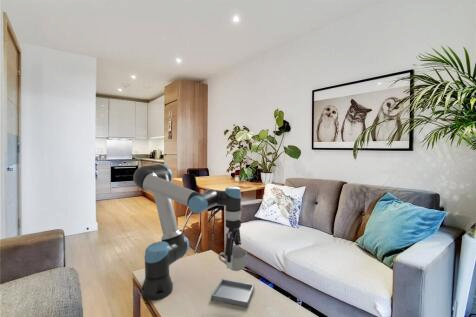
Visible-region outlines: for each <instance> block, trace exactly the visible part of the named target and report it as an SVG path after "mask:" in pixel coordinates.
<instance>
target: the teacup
mask: <svg viewBox="0 0 476 317" xmlns="http://www.w3.org/2000/svg"><path fill="white" fill-rule="evenodd" d="M247 254H248V252H247V250H246V249H244V248H240V247H239V248H234V247H233V250H232V255H233V269H230V270H231V271H233V272H239V271H242V270H243V269H244V268H245V267H246V266H247V263H248V262H247V260H248V255H247ZM222 256H223V257H224V259H223V258H222ZM218 259H219V261H220V262H222V263H223V264H224V265H225V266H227V256H225V252H224V251H223V252H220V253H219V254H218Z"/></svg>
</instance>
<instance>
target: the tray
mask: <svg viewBox="0 0 476 317" xmlns="http://www.w3.org/2000/svg"><path fill="white" fill-rule="evenodd" d="M254 291H255V284H253V283H247V282H242V281H237V280H230V279H224V278H221V279H220V281H219V283H218V284H217V285H216V287H215V289H214V290H213V292H212V294H211V296H210V297H211V298H210V299H211V301H214V302H218V303H223V304H229V305H233V306H239V307H243V308H248V307H249V305H250V302H251V299H252V297H253V293H254Z"/></svg>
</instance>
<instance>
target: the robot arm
mask: <svg viewBox="0 0 476 317" xmlns="http://www.w3.org/2000/svg"><path fill="white" fill-rule="evenodd" d="M172 179H173V172H172V169H171V168H170V167H169V166H168V165H166V164H152V165H151V164H150V165H143V166H140V167H138V168H137V169H136V170H135V171H134V173H133V179H132V180H133V182H134V184H135V186H136V187H137V188H139V189H141V190H143V191H145V192H150V193H152V194H153V197H154V202H155V205H156V206H155V207H156V210H157V214H158V218H159V222H160V227H161V231H162V236H161V238H160V241H157V242H153V243H150V244H149V245H148V246H147V247H146V248H145V251H144V280H143V283H142V286H141V296H142V298H144V299H146V300H150V301H155V300H160V299H163V298H165V297H168V296H169V295H170V294H171V293H172V291H173V290H174V286H173V282H172V279H171V278H172V277H171V276H170V266H171V265H172V264H173V263H175V262H176V261H178V260H180V259H182V258H183V257H184V256H185V255H186V254H187V253H188V252H189V249H190V242H189V239H188V237H186V235H185V234H183V232H182V231H181V230H179V226H178V222H177V218H176V215H175V214H176V212H175V210H174V206H173V201H174V202H177V203H180V204H182V205H185V206H187V207H188V209H189V210H190V212H192V213H193V214H199V213H203V212H205V211H207V210H209V209H212V208H213V207H215V206H221V207H225V212H224V213H225V216H224V217H225V227H226V228H227V229H228V232H227V233H226V234H225V235H226V240H225V247H224V248H225V249H224V250H225V252H224V253H225V256H227V265H226V269H229V270H231V269H233V255H232V250H233V248H240V246H241V245H242V240H241V232H240V228H241V227H242V219H241V217H242V215H243V213H242V212H241V211H242V209H241V207H242V202H241V201H242V192H241V188H240V187H238V186H227V187H226V188H225V190H218V189H206V190H204V191H203V193H199V192H197V191H195V190H192V189H191V188H187V187H184V186H182V185H179V184H177V183H175V182H173V181H172Z"/></svg>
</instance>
